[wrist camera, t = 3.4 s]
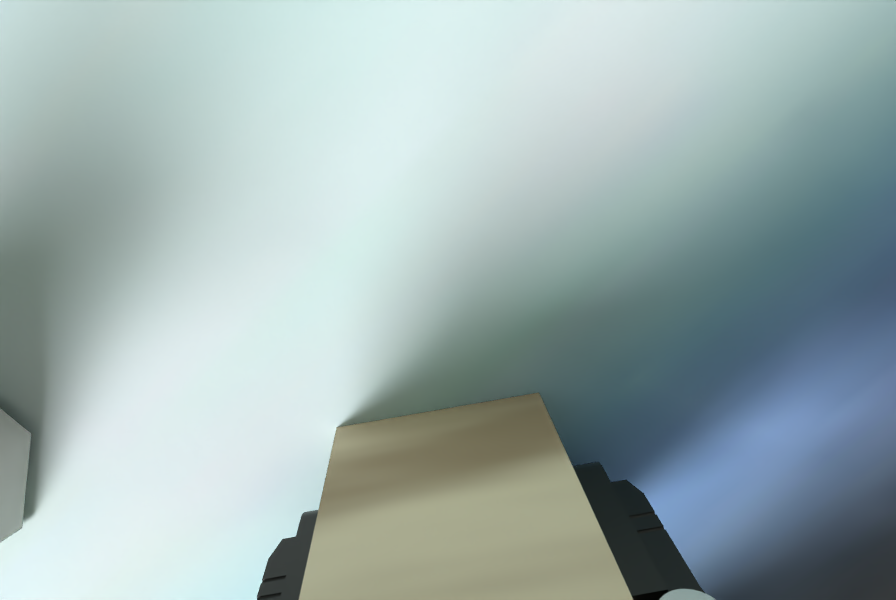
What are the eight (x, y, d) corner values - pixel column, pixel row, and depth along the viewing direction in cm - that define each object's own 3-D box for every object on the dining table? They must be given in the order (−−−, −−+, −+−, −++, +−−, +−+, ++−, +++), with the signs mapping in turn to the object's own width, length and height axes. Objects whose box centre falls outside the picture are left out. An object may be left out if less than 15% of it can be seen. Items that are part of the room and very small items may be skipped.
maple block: (337, 426, 12) (279, 687, 7) (538, 391, 13) (643, 621, 7) (378, 574, 14) (358, 876, 9) (553, 543, 14) (646, 823, 9)
